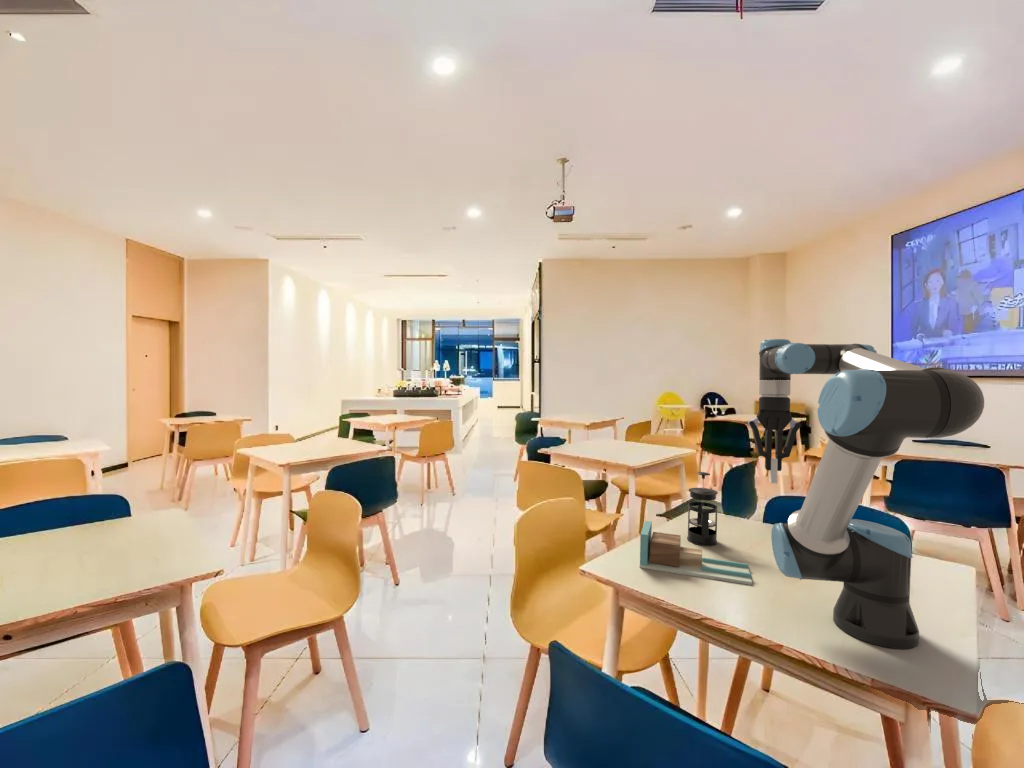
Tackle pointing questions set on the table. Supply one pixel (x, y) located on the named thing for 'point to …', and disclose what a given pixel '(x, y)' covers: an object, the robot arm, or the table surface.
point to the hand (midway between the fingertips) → (772, 482)
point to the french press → (702, 516)
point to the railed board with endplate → (708, 569)
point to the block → (665, 549)
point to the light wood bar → (690, 557)
